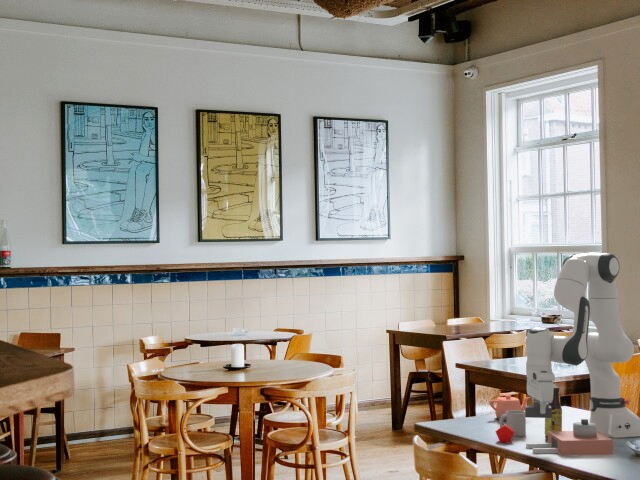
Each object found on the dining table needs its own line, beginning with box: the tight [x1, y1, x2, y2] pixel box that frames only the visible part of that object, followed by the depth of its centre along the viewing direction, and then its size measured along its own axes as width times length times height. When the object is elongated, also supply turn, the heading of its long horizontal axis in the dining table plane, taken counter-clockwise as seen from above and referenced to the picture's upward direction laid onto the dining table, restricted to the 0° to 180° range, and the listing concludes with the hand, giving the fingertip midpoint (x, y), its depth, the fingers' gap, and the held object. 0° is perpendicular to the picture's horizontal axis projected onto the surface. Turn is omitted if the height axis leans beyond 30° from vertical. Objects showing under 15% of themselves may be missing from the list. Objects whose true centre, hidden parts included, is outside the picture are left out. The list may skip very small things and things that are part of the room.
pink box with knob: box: [525, 418, 614, 456], centre depth 292 cm, size 27×16×11 cm, turn 92°
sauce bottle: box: [544, 386, 563, 441], centre depth 310 cm, size 7×6×20 cm
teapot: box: [488, 394, 532, 422], centre depth 351 cm, size 12×18×10 cm, turn 90°
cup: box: [498, 410, 527, 438], centre depth 319 cm, size 7×10×9 cm
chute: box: [524, 401, 552, 419], centre depth 293 cm, size 9×5×5 cm, turn 80°
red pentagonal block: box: [495, 424, 514, 444], centre depth 307 cm, size 7×7×8 cm
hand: (539, 411), depth 292 cm, fingers closed on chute, 5 cm apart
